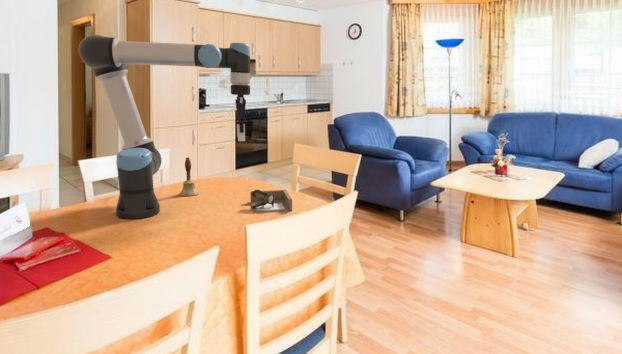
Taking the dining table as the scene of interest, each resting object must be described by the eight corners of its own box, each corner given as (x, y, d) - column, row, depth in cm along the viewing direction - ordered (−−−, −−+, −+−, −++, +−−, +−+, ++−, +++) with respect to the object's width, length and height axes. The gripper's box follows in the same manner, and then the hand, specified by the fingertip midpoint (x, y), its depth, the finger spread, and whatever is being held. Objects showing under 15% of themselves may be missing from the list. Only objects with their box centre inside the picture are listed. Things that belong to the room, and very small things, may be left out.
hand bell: (178, 192, 190) (176, 156, 187) (197, 190, 194) (195, 155, 190) (181, 197, 183) (178, 160, 180) (200, 195, 186) (199, 158, 183)
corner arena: (254, 212, 163) (253, 201, 162) (250, 201, 177) (250, 191, 176) (292, 210, 166) (292, 199, 165) (285, 200, 180) (285, 189, 179)
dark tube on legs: (273, 200, 174) (251, 196, 172) (276, 188, 169) (253, 184, 167) (272, 214, 168) (249, 211, 167) (275, 203, 163) (252, 199, 162)
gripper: (252, 85, 158) (252, 143, 162) (248, 84, 181) (248, 134, 186) (231, 84, 156) (231, 143, 161) (230, 83, 180) (230, 134, 185)
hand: (240, 138), depth 173 cm, fingers open, 13 cm apart
